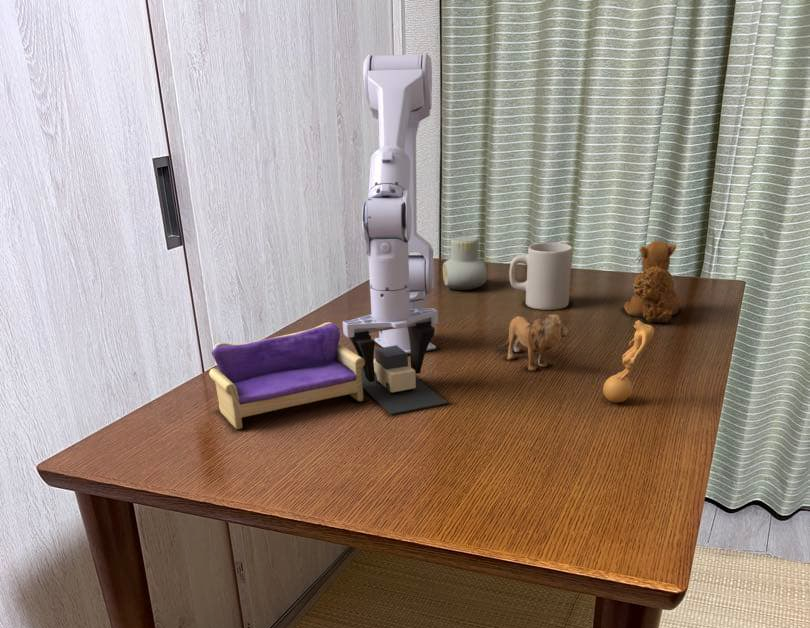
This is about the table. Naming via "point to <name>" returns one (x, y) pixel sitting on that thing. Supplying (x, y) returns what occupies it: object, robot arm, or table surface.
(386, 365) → the toy car
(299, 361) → the toy sofa
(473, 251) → the air freshener
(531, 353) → the lion figurine
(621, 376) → the figurine
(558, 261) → the mug
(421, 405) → the mat
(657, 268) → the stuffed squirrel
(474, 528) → the table surface
